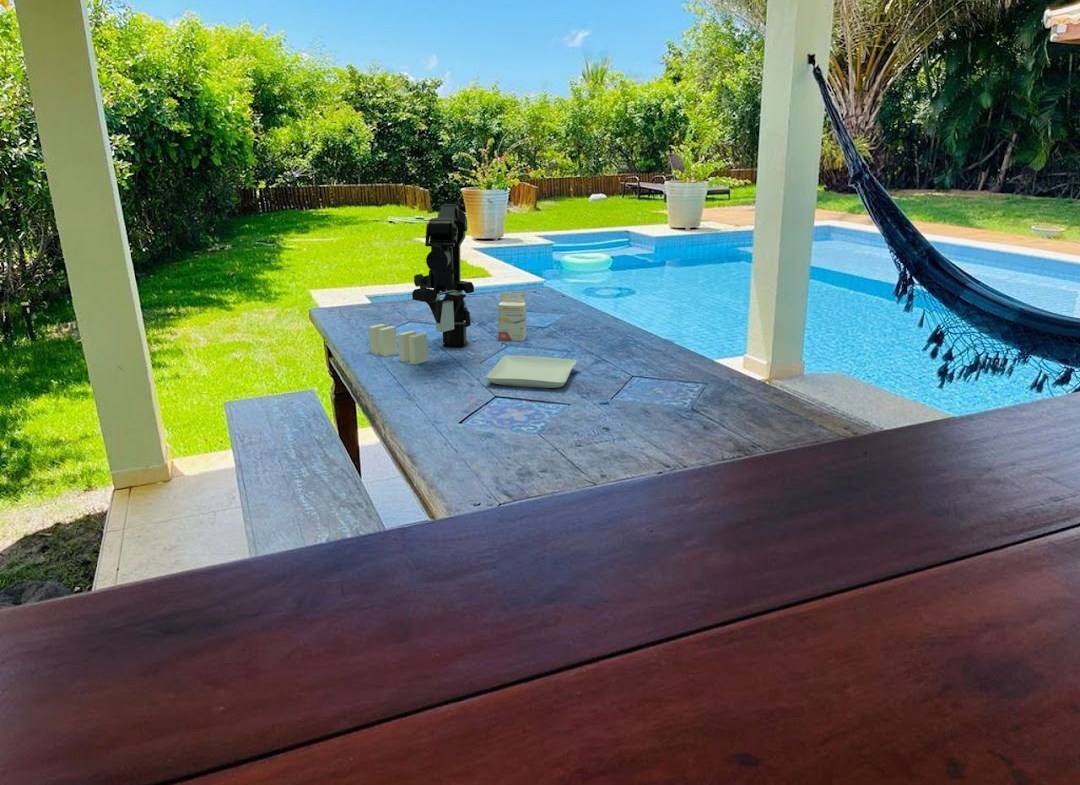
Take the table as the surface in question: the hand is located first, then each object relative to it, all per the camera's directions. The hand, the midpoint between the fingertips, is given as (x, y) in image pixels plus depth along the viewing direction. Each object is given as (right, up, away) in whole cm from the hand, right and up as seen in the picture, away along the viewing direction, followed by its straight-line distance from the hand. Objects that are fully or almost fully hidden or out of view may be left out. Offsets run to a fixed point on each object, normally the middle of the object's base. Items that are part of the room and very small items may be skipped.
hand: (445, 321), depth 216 cm
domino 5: (0, -2, +1) cm, 3 cm away
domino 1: (-22, -8, +17) cm, 29 cm away
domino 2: (-19, -9, +14) cm, 25 cm away
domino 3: (-12, -10, +8) cm, 18 cm away
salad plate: (+25, -17, -9) cm, 31 cm away
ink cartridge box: (+18, -3, +31) cm, 36 cm away
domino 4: (-8, -11, +6) cm, 15 cm away
